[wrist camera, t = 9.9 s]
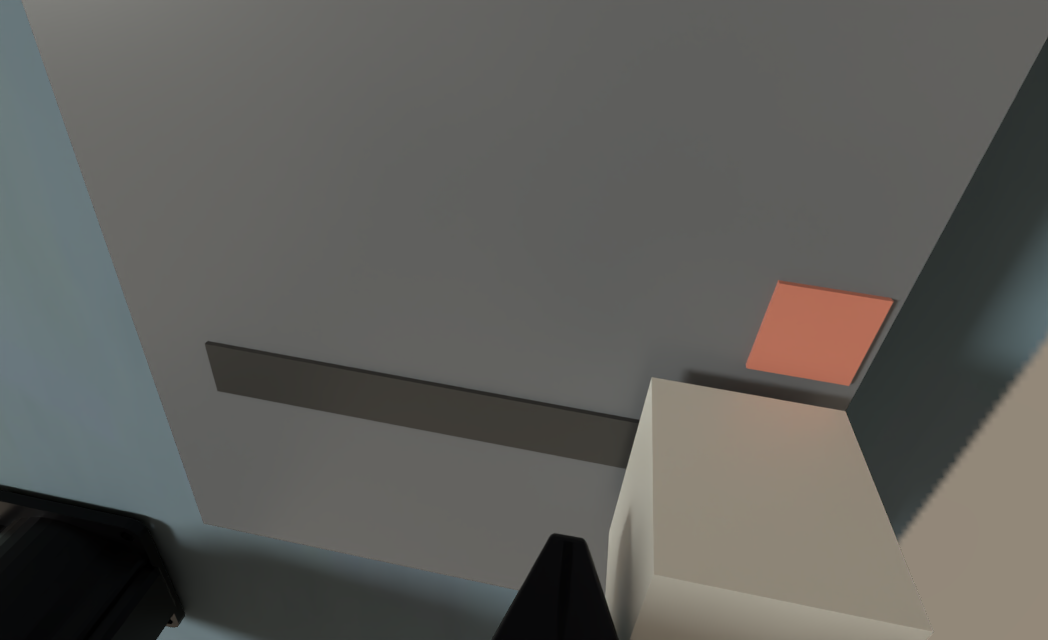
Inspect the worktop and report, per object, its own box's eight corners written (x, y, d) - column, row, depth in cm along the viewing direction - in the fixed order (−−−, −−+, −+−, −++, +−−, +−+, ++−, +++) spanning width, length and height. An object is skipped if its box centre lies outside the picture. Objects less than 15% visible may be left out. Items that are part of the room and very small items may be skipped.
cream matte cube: (608, 531, 12) (597, 727, 9) (651, 377, 10) (653, 574, 7) (763, 562, 12) (801, 774, 9) (845, 410, 9) (934, 631, 6)
